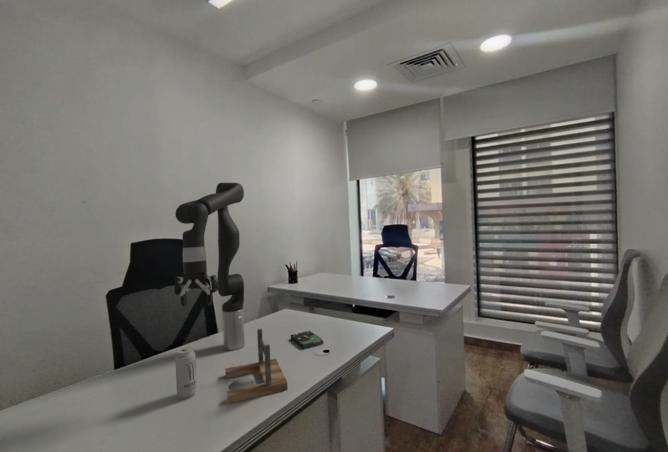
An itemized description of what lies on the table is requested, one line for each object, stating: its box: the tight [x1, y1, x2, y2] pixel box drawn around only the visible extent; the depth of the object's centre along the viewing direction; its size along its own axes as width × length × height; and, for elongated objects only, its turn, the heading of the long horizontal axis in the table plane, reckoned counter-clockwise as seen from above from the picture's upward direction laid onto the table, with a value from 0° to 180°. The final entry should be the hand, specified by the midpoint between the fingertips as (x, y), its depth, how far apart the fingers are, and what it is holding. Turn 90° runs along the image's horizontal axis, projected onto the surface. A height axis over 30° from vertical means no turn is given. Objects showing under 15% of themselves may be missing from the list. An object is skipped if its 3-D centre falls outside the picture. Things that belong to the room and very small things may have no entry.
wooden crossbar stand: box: [224, 328, 288, 404], centre depth 110 cm, size 20×19×16 cm
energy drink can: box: [174, 346, 198, 400], centre depth 103 cm, size 6×6×15 cm
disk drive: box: [290, 330, 324, 350], centre depth 145 cm, size 10×3×15 cm
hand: (197, 305), depth 109 cm, fingers open, 8 cm apart
